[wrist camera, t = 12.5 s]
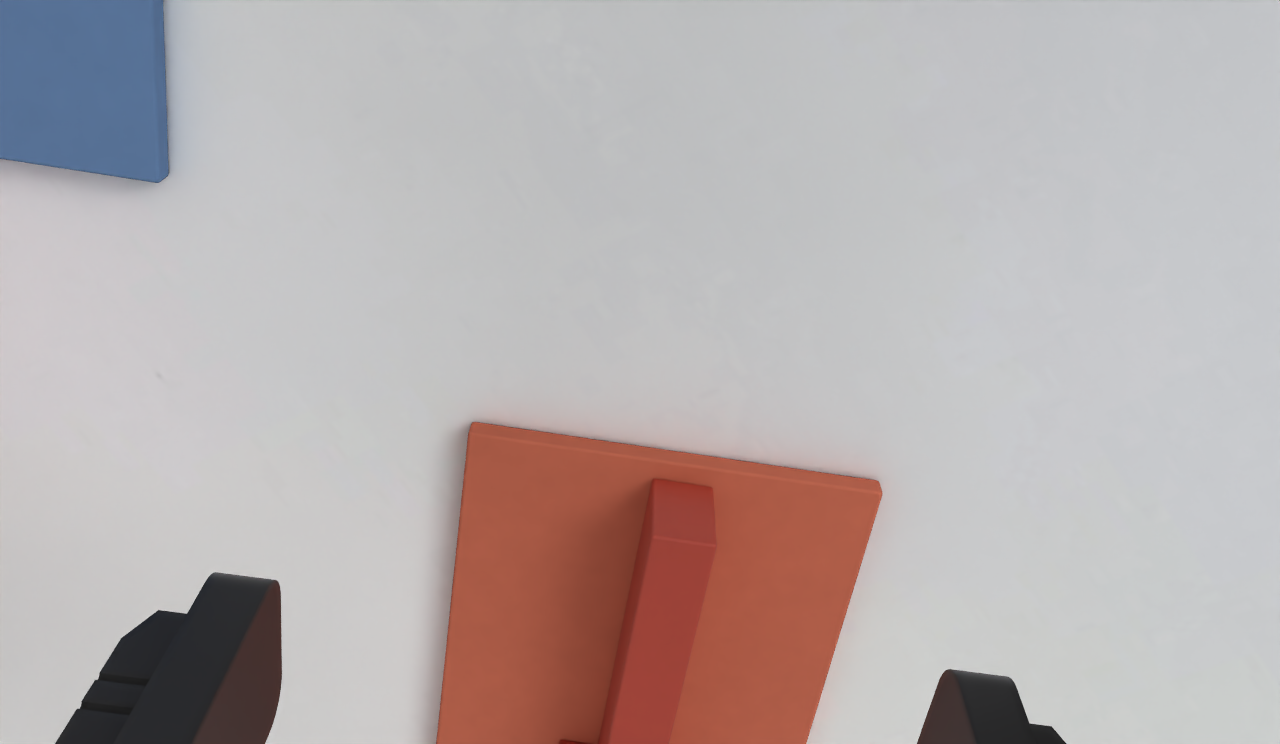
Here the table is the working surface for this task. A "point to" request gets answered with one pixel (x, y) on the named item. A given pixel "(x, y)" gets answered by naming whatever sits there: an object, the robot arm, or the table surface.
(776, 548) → the red mat
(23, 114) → the blue mat
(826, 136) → the table surface
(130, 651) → the robot arm
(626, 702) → the red wooden stick
